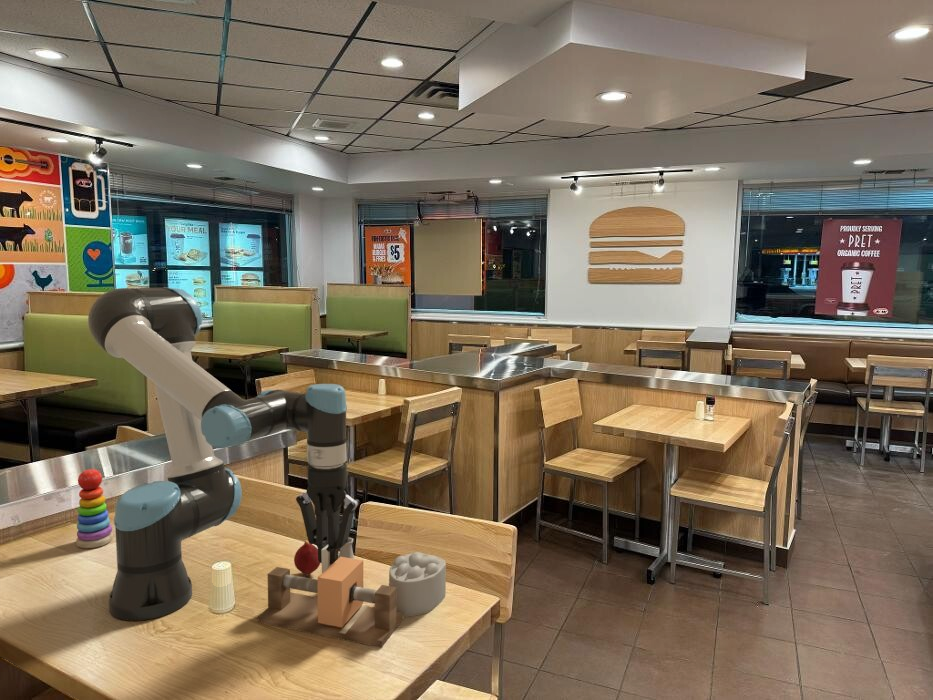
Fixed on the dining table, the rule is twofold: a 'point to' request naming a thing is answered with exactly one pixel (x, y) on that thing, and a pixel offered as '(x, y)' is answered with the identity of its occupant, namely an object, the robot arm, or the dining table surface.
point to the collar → (339, 591)
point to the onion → (306, 558)
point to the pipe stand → (303, 610)
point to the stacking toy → (92, 512)
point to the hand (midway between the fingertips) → (328, 578)
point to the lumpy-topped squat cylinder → (418, 582)
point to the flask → (347, 550)
